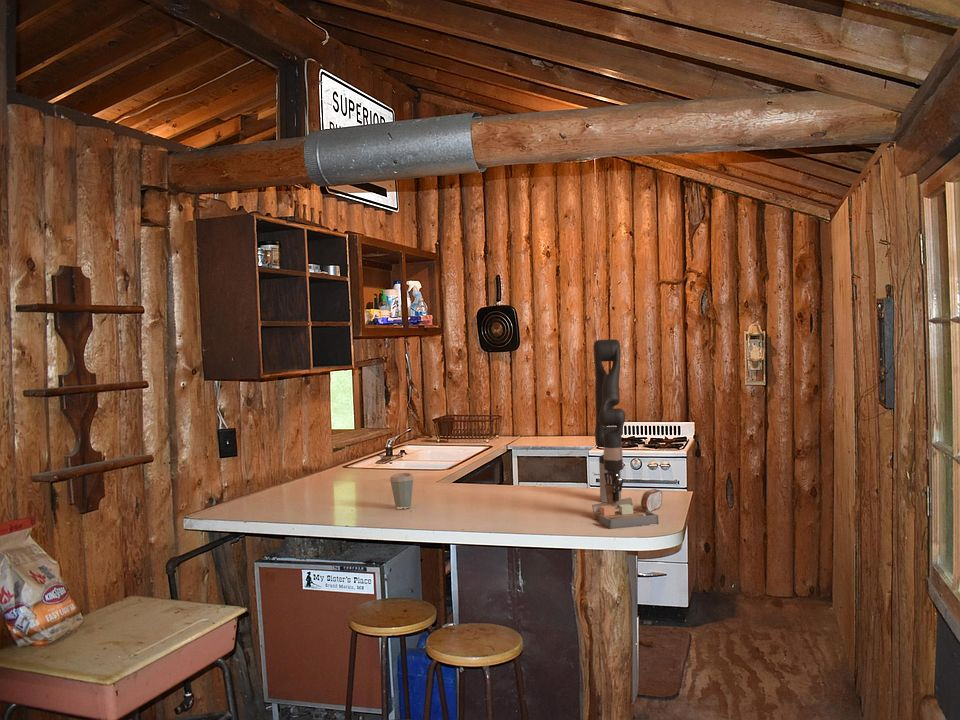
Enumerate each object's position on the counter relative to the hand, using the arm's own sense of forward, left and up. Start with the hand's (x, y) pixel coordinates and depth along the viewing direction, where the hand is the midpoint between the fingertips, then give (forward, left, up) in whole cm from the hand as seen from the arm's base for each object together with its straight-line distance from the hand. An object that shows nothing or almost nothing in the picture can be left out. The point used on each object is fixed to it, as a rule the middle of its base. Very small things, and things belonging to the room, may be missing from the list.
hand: (614, 499), depth 310 cm
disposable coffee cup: (-52, -78, -7) cm, 94 cm away
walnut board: (+4, 0, -7) cm, 8 cm away
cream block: (+4, +3, -5) cm, 7 cm away
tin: (-6, +20, -7) cm, 22 cm away
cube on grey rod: (0, 0, -4) cm, 4 cm away
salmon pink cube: (+3, -4, -5) cm, 7 cm away
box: (+14, 0, -7) cm, 15 cm away
